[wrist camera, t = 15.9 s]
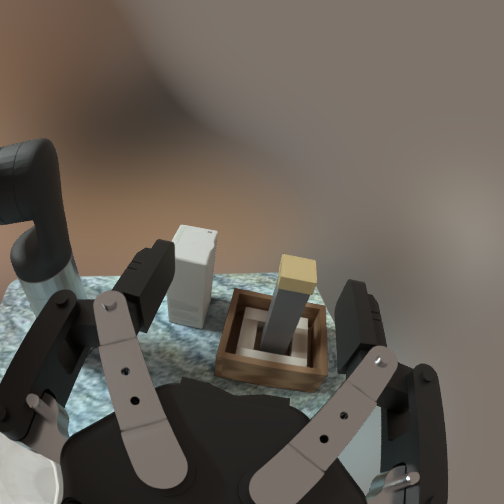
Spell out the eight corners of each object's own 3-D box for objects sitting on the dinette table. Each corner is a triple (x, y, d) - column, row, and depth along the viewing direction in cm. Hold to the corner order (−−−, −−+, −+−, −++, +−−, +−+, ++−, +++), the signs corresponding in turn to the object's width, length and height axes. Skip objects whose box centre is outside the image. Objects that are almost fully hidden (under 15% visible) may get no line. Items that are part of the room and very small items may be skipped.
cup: (59, 538, 13) (16, 538, 7) (8, 471, 18) (-37, 448, 11) (113, 499, 22) (82, 492, 15) (57, 433, 27) (20, 405, 20)
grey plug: (256, 356, 44) (280, 276, 33) (259, 335, 48) (282, 253, 37) (282, 361, 44) (316, 283, 33) (284, 340, 48) (315, 260, 37)
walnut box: (214, 375, 41) (216, 356, 37) (231, 310, 52) (234, 287, 49) (314, 392, 41) (327, 375, 37) (315, 326, 52) (325, 305, 48)
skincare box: (180, 290, 54) (180, 222, 45) (213, 297, 54) (220, 229, 45) (167, 323, 47) (161, 253, 38) (204, 331, 48) (207, 262, 38)
